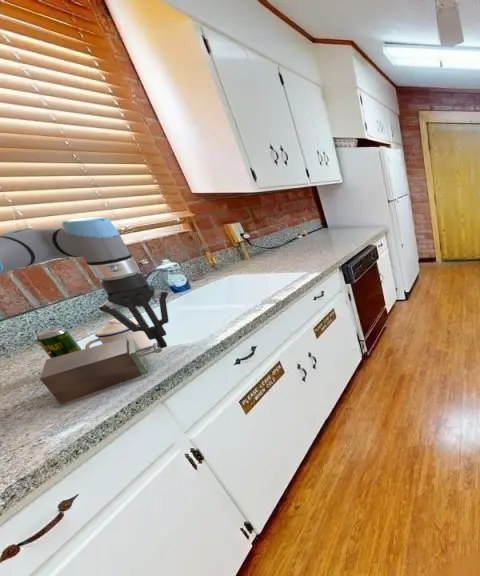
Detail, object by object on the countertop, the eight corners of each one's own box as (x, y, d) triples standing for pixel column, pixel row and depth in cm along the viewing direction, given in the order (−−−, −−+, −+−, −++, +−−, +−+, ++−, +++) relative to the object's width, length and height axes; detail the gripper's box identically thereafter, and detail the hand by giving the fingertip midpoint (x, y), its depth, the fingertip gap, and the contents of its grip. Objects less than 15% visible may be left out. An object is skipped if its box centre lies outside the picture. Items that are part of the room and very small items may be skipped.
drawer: (166, 352, 94) (155, 333, 91) (169, 365, 88) (157, 345, 85) (78, 380, 82) (62, 359, 79) (75, 397, 76) (58, 375, 73)
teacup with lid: (150, 340, 102) (132, 310, 97) (157, 347, 97) (137, 317, 92) (94, 358, 93) (71, 327, 88) (98, 368, 88) (73, 335, 83)
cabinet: (141, 362, 91) (126, 337, 87) (143, 378, 84) (127, 352, 81) (67, 386, 81) (46, 359, 78) (62, 406, 75) (39, 378, 71)
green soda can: (67, 363, 90) (41, 330, 86) (94, 357, 93) (69, 324, 88) (55, 372, 86) (26, 338, 81) (83, 366, 89) (57, 332, 84)
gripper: (80, 286, 73) (132, 361, 83) (155, 271, 82) (194, 340, 92) (82, 279, 78) (131, 351, 88) (153, 265, 87) (191, 332, 97)
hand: (163, 345), depth 90 cm, fingers closed
